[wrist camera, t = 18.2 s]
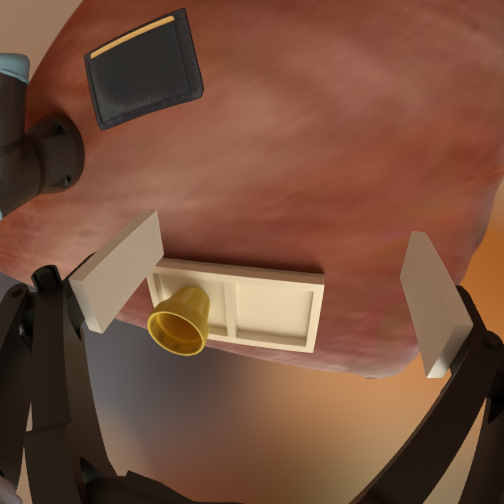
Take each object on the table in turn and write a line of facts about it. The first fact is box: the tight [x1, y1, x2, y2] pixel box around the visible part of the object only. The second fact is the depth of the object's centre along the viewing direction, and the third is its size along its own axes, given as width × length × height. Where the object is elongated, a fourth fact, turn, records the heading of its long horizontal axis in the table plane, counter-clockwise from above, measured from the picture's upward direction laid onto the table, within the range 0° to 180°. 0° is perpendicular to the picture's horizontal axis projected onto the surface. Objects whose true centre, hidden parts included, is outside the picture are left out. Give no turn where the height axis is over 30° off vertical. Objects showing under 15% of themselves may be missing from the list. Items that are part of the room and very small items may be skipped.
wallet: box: [84, 8, 204, 131], centre depth 37 cm, size 20×2×15 cm
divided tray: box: [146, 257, 325, 353], centre depth 55 cm, size 31×16×3 cm, turn 91°
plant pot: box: [147, 286, 210, 356], centre depth 52 cm, size 10×10×10 cm
